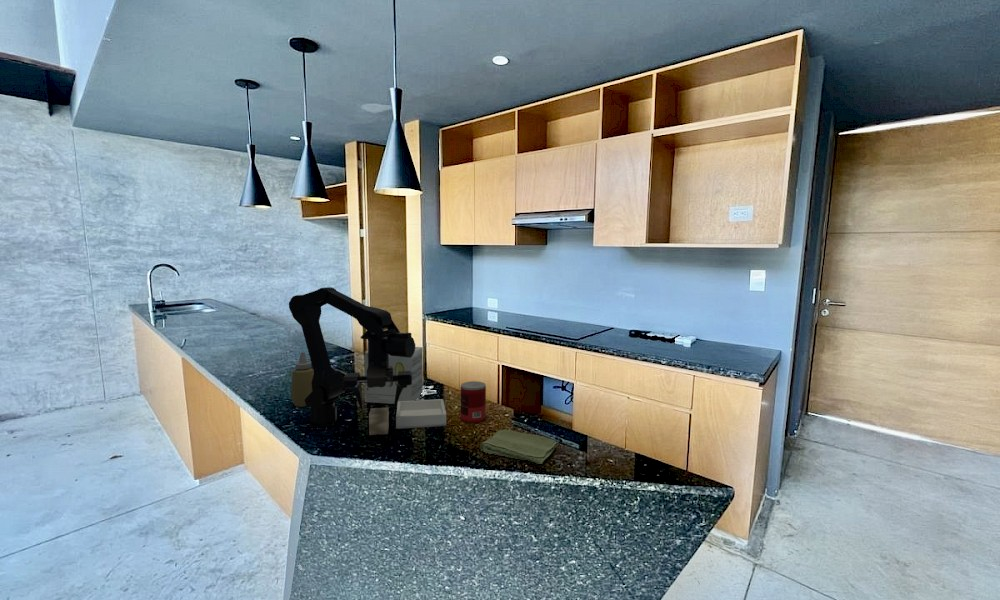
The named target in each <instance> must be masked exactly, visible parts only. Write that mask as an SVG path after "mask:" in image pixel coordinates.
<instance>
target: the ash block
mask: <svg viewBox="0 0 1000 600" xmlns="http://www.w3.org/2000/svg"><path fill="white" fill-rule="evenodd" d="M389 415H390V414H389V407H377V408H375V407H374V408H373V407H372V408H370V411H369V413H368V429H369V430H368V435H369V436H376V435H377V434H378V435H388V434H389V428H390V427H389V426H390V425H389V424H390V422H389V421H390V419H389V417H390V416H389Z"/></svg>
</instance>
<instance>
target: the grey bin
mask: <svg viewBox="0 0 1000 600" xmlns="http://www.w3.org/2000/svg"><path fill="white" fill-rule="evenodd" d="M396 408H397V409H396V413H395V414H396V415H395V429H399V430H400V429H414V428H417V429H418V428H431V427H446V426H447V411H446V406H445V402H444V399H442V398H440V399H438V398H437V399H419V400H418V399H417V400H416V401H398V404H397V406H396Z"/></svg>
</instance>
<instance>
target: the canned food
mask: <svg viewBox="0 0 1000 600" xmlns="http://www.w3.org/2000/svg"><path fill="white" fill-rule="evenodd" d="M486 391H487V386H486V383H485V382H482V381H477V380H476V381H473V380H472V381H465V382H463V383H461V385H460V419H461V421H463V422H464V423H468V424H477V423H481V422H482V421H484V420H485V419H486V418H485V417H486V409H487V408H486V406H487V405H486V404H487V403H486V401H487V400H486V399H487V398H486V397H487V392H486Z"/></svg>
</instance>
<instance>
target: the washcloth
mask: <svg viewBox="0 0 1000 600" xmlns="http://www.w3.org/2000/svg"><path fill="white" fill-rule="evenodd" d="M558 445H559V442H558V441H556V440H555V439H552V438H548V437H546V436H544V435H536V434H531V433H530V434H529V433H524V432H519V431H516V430H511V429H505V428H503V429H499V430H497V431H496V432H495V433H494V434H493V435H492V437H490V438H488V439H486V440H485V441H483V442H482V443H481V445H480V447H479V449H480V450H481V452H482V451H483V452H485V453H484V454H487V453H488V454H487V455H491V454H494V455H500V456H505V457H510V458H515V459H521V460H528V461H531V462H535V463H538V464H542V465H543V463H544V462H545V460H546V459H547V458H549V457H550V455H551V454H552V453H553V452H554V450H555V449H556V447H558ZM483 452H482V453H483ZM494 455H493V456H494Z"/></svg>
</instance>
